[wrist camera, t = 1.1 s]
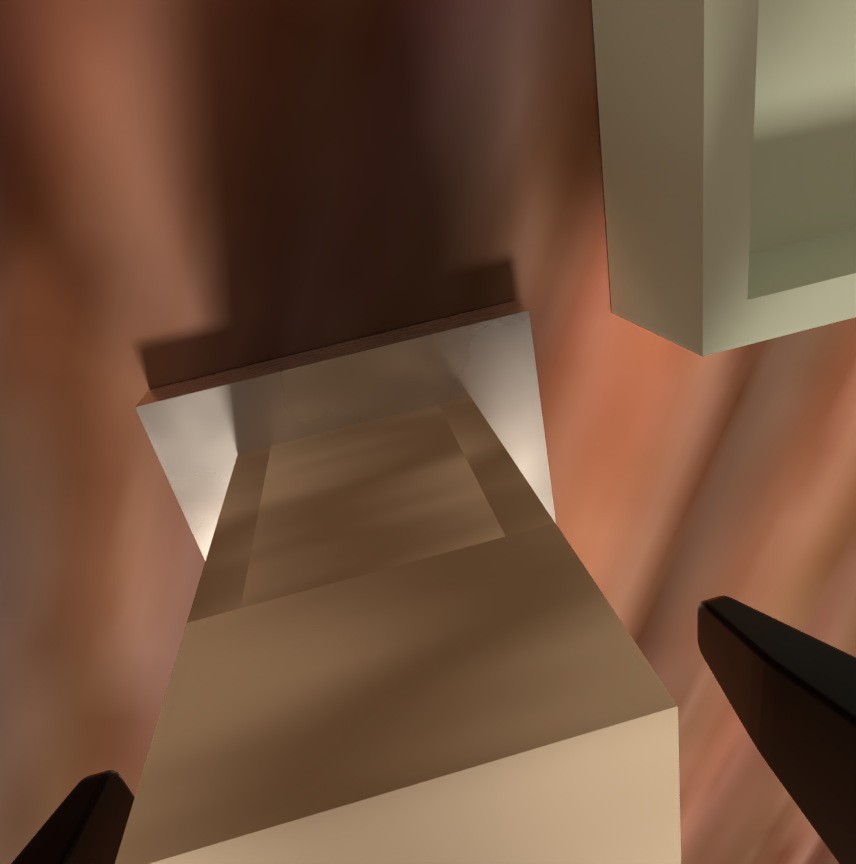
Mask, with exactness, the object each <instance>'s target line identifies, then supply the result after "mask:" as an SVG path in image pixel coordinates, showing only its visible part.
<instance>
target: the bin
mask: <svg viewBox="0 0 856 864" xmlns="http://www.w3.org/2000/svg"><path fill="white" fill-rule="evenodd" d="M592 16H593V31H594V47H595V62H596V78H597V93H598V109H599V124H600V140H601V156H602V171H603V187H604V202H605V218H606V233H607V249H608V264H609V280H610V295H611V311H612V313H613V314H615V315H617V316H620V317H622V318H624V319H626V320H628V321H630V322H632V323H634V324H636V325H638V326H640V327H643V328H645V329H647V330H649V331H651V332H653V333H655V334H657V335H659V336H661V337H663V338H665V339H668V340H670V341H672V342H674V343H676V344H678V345H680V346H682V347H684V348H686V349H688V350H691V351H693V352H695V353H697V354H699V355H701V356H706V355H710V354H713V353H717V352H721V351H725V350H729V349H733V348H737V347H741V346H745V345H749V344H752V343H756V342H760V341H764V340H768V339H772V338H776V337H780V336H784V335H788V334H792V333H795V332H799V331H803V330H807V329H811V328H815V327H819V326H823V325H827V324H831V323H834V322H838V321H842V320H846V319H850V318H854V317H856V0H592Z"/></svg>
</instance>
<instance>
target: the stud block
mask: <svg viewBox="0 0 856 864" xmlns="http://www.w3.org/2000/svg"><path fill="white" fill-rule="evenodd" d="M467 396H471V398H472V399H473V401H474V402H475V404H476V405H477V407H478V408H479V410H480V411H481V413H482V414H483V416H484V417H485V419H486V420H487V422H488V423H489V425H490V426H491V428H492V429H493V431H494V432H495V434H496V435H497V437H498V438H499V440H500V441H501V443H502V444H503V446H504V447H505V449H506V450H507V452H508V453H509V455H510V456H511V458H512V459H513V461H514V462H515V464H516V465H517V467H518V468H519V470H520V471H521V472H522V474H523V475H524V477H525V478H526V480H527V481H528V483H529V484H530V486H531V487H532V489H533V490H534V492H535V493H536V495H537V496H538V498H539V499H540V501H541V502H542V504H543V505H544V507H545V508H546V510H547V511H548V513H549V514H550V516H551V517H552V519H553V520H554V522H555V523H556V521H555V513H554V505H553V497H552V489H551V481H550V473H549V465H548V458H547V450H546V442H545V434H544V426H543V418H542V410H541V402H540V394H539V387H538V379H537V371H536V363H535V355H534V347H533V339H532V331H531V324H530V316H529V310H527V309H526V308H524V307H523V306H521V305H520V304H518V303H517V302H515V301H511V302H507V303H503V304H499V305H495V306H491V307H487V308H483V309H479V310H474V311H470V312H466V313H462V314H458V315H454V316H450V317H446V318H442V319H438V320H433V321H429V322H425V323H421V324H417V325H413V326H409V327H405V328H401V329H396V330H392V331H388V332H384V333H380V334H376V335H372V336H368V337H364V338H360V339H355V340H351V341H347V342H343V343H339V344H335V345H331V346H327V347H323V348H319V349H314V350H310V351H306V352H302V353H298V354H294V355H290V356H286V357H282V358H278V359H273V360H269V361H265V362H261V363H257V364H253V365H249V366H245V367H241V368H237V369H232V370H228V371H224V372H220V373H216V374H212V375H208V376H204V377H200V378H195V379H191V380H187V381H183V382H179V383H175V384H171V385H167V386H163V387H159V388H154V389H150V390H148V392H147V393H146V394H145V395H144V397H143V398H142V399H141V400H140V402H139V403H138V404H137V405H136V407H135V408H136V410H137V413H138V415H139V417H140V419H141V421H142V423H143V426H144V428H145V430H146V432H147V434H148V437H149V439H150V441H151V443H152V445H153V447H154V450H155V452H156V454H157V456H158V458H159V461H160V463H161V465H162V467H163V469H164V472H165V474H166V476H167V478H168V480H169V482H170V485H171V487H172V489H173V491H174V493H175V496H176V498H177V500H178V502H179V504H180V506H181V509H182V511H183V513H184V515H185V517H186V520H187V522H188V524H189V526H190V528H191V530H192V533H193V535H194V537H195V539H196V541H197V544H198V546H199V548H200V550H201V552H202V555H203V557H204V559H205V561H206V558H207V555H208V551H209V548H210V545H211V541H212V538H213V535H214V531H215V528H216V525H217V521H218V518H219V515H220V511H221V508H222V505H223V501H224V498H225V495H226V491H227V488H228V485H229V481H230V478H231V475H232V471H233V468H234V465H235V461H236V458H237V455H238V454H242V453H246V452H250V451H254V450H258V449H262V448H266V447H270V446H274V445H278V444H282V443H285V442H289V441H293V440H297V439H301V438H305V437H309V436H313V435H317V434H321V433H325V432H329V431H333V430H337V429H341V428H345V427H349V426H352V425H356V424H360V423H364V422H368V421H372V420H376V419H380V418H384V417H388V416H392V415H396V414H400V413H404V412H408V411H412V410H416V409H419V408H423V407H427V406H431V405H435V404H439V403H443V402H447V401H451V400H455V399H459V398H463V397H467Z"/></svg>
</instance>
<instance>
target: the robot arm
mask: <svg viewBox="0 0 856 864" xmlns="http://www.w3.org/2000/svg"><path fill="white" fill-rule="evenodd" d="M698 645H699V648H700V651H701V653H702V655H703V657H704V659H705V661H706V662H707V664H708V666H709V668H710V669H711V671H712V673H713V674H714V676H715V678H716V680H717V681H718V683H719V685H720V686H721V688H722V690H723V692H724V693H725V695H726V697H727V698H728V700H729V702H730V704H731V705H732V707H733V709H734V710H735V712H736V714H737V716H738V717H739V719H740V721H741V722H742V724H743V726H744V728H745V729H746V731H747V733H748V734H749V736H750V738H751V739H752V741H753V743H754V744H755V746H756V747H757V749H758V751H759V752H760V753H761V755H762V756H763V758H764V759H765V761H766V762H767V764H768V765H769V767H770V768H771V769H772V771H773V772H774V773H775V775H776V776H777V778H778V779H779V780H780V782H781V783H782V785H783V786H784V787H785V789H786V790H787V792H788V793H789V794H790V796H791V797H792V798H793V800H794V801H795V803H796V804H797V805H798V807H799V808H800V810H801V811H802V812H803V814H804V815H805V817H806V818H807V819H808V821H809V822H810V823H811V825H812V826H813V828H814V829H815V830H816V832H817V833H818V835H819V836H820V837H821V839H822V840H823V842H824V843H825V844H826V846H827V847H828V848H829V850H830V851H831V853H832V854H833V855H834V857H835V858H836V860H837V861H838V862H839V864H856V657H854V656H851V655H849V654H847V653H845V652H843V651H841V650H839V649H837V648H835V647H833V646H831V645H828V644H826V643H824V642H822V641H820V640H818V639H816V638H814V637H812V636H810V635H808V634H805V633H803V632H801V631H799V630H797V629H795V628H793V627H791V626H789V625H787V624H785V623H783V622H780V621H778V620H776V619H774V618H772V617H770V616H768V615H766V614H764V613H762V612H760V611H757V610H755V609H753V608H751V607H749V606H747V605H745V604H743V603H741V602H739V601H737V600H735V599H732V598H730V597H727V596H718V597H715V598H711V599H708V600H704V601H702V602H700V604H699V605H698ZM134 798H135V797H134V795H133V794H132V792H131V791H130V789H129V788H128V786H127V785H126V784H125V782H124V781H123V779H122V778H121V776H120V775H119V773H118V772H116V771H114V770H108V771H104V772H101V773H97V774H94V775H90V776H87V777H86V778H84V779H82V780H81V781H80V782H79V783H78V784H77V785H76V787H75V788H74V789H73V790H72V791H71V793H70V794H69V795H68V796H67V797H66V799H65V800H64V801H63V802H62V803H61V805H60V806H59V807H58V808H57V809H56V811H55V812H54V813H53V814H52V815H51V817H50V818H49V819H48V820H47V821H46V823H45V824H44V825H43V826H42V827H41V829H40V830H39V831H38V832H37V833H36V835H35V836H34V837H33V838H32V839H31V841H30V842H29V843H28V844H27V845H26V847H25V848H24V849H23V850H22V851H21V853H20V854H19V855H18V856H17V857H16V859H15V860H14V861H13V862H12V863H11V864H115V861H116V858H117V855H118V851H119V848H120V845H121V841H122V838H123V835H124V831H125V828H126V825H127V821H128V818H129V815H130V811H131V808H132V805H133V801H134Z"/></svg>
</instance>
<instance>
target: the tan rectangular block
mask: <svg viewBox="0 0 856 864" xmlns="http://www.w3.org/2000/svg"><path fill="white" fill-rule="evenodd" d="M115 864H681V839H680V790H679V741H678V706H677V704H676V703H675V701H674V700H673V698H672V697H671V695H670V694H669V692H668V691H667V689H666V688H665V686H664V685H663V683H662V682H661V680H660V679H659V677H658V676H657V674H656V673H655V671H654V670H653V668H652V667H651V665H650V664H649V662H648V661H647V659H646V658H645V656H644V655H643V653H642V652H641V650H640V649H639V647H638V646H637V644H636V643H635V641H634V640H633V638H632V637H631V635H630V634H629V632H628V631H627V629H626V628H625V627H624V625H623V624H622V622H621V621H620V619H619V618H618V616H617V615H616V613H615V612H614V610H613V609H612V607H611V606H610V604H609V603H608V601H607V600H606V598H605V597H604V595H603V594H602V592H601V591H600V589H599V588H598V586H597V585H596V583H595V582H594V580H593V579H592V577H591V576H590V574H589V573H588V571H587V570H586V568H585V567H584V565H583V564H582V562H581V561H580V559H579V558H578V556H577V555H576V553H575V552H574V550H573V549H572V547H571V546H570V544H569V543H568V541H567V540H566V538H565V537H564V535H563V534H562V532H561V531H560V529H559V528H558V526H557V525H556V523H555V522H554V520H553V519H552V517H551V516H550V514H549V513H548V511H547V510H546V508H545V507H544V505H543V504H542V502H541V501H540V499H539V498H538V496H537V495H536V493H535V492H534V490H533V489H532V487H531V486H530V484H529V483H528V481H527V480H526V478H525V477H524V475H523V474H522V472H521V471H520V470H519V468H518V467H517V465H516V464H515V462H514V461H513V459H512V458H511V456H510V455H509V453H508V452H507V450H506V449H505V447H504V446H503V444H502V443H501V441H500V440H499V438H498V437H497V435H496V434H495V432H494V431H493V429H492V428H491V426H490V425H489V423H488V422H487V420H486V419H485V417H484V416H483V414H482V413H481V411H480V410H479V408H478V407H477V405H476V404H475V402H474V401H473V399H472V398H471V396H467V397H463V398H459V399H455V400H451V401H447V402H443V403H439V404H435V405H431V406H427V407H423V408H419V409H416V410H412V411H408V412H404V413H400V414H396V415H392V416H388V417H384V418H380V419H376V420H372V421H368V422H364V423H360V424H356V425H352V426H349V427H345V428H341V429H337V430H333V431H329V432H325V433H321V434H317V435H313V436H309V437H305V438H301V439H297V440H293V441H289V442H285V443H282V444H278V445H274V446H270V447H266V448H262V449H258V450H254V451H250V452H246V453H242V454H238V455H237V458H236V461H235V465H234V468H233V471H232V475H231V478H230V481H229V485H228V488H227V491H226V495H225V498H224V501H223V505H222V508H221V511H220V515H219V518H218V521H217V525H216V528H215V531H214V535H213V538H212V541H211V545H210V548H209V551H208V555H207V558H206V561H205V565H204V568H203V571H202V575H201V578H200V581H199V585H198V588H197V591H196V595H195V598H194V601H193V605H192V608H191V611H190V615H189V618H188V621H187V625H186V628H185V631H184V635H183V638H182V641H181V645H180V648H179V651H178V655H177V658H176V661H175V665H174V668H173V671H172V675H171V678H170V681H169V685H168V688H167V691H166V695H165V698H164V701H163V705H162V708H161V711H160V715H159V718H158V721H157V725H156V728H155V731H154V735H153V738H152V741H151V745H150V748H149V751H148V755H147V758H146V761H145V765H144V768H143V771H142V775H141V778H140V781H139V785H138V788H137V791H136V795H135V798H134V801H133V805H132V808H131V811H130V815H129V818H128V821H127V825H126V828H125V831H124V835H123V838H122V841H121V845H120V848H119V851H118V855H117V858H116V861H115Z"/></svg>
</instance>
